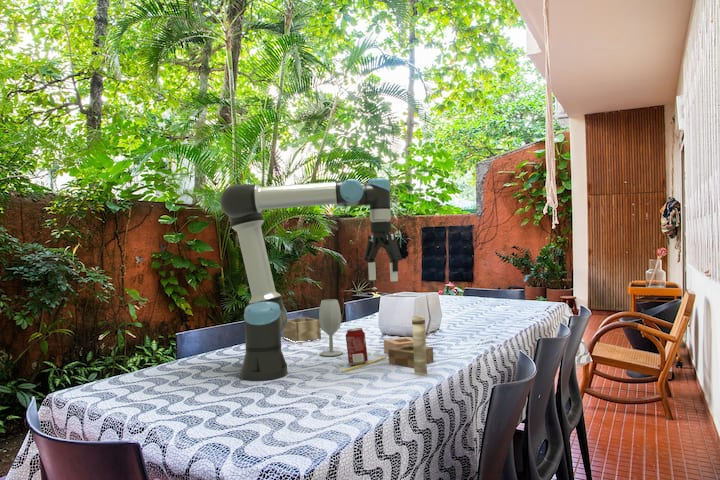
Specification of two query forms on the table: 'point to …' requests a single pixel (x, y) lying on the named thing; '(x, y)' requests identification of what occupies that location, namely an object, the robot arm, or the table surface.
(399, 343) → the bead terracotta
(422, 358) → the beige banded cylinder
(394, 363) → the brown holed block
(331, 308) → the wineglass
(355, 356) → the soda can
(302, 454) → the table surface
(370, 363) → the thin yellow stick
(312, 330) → the fruit crate
